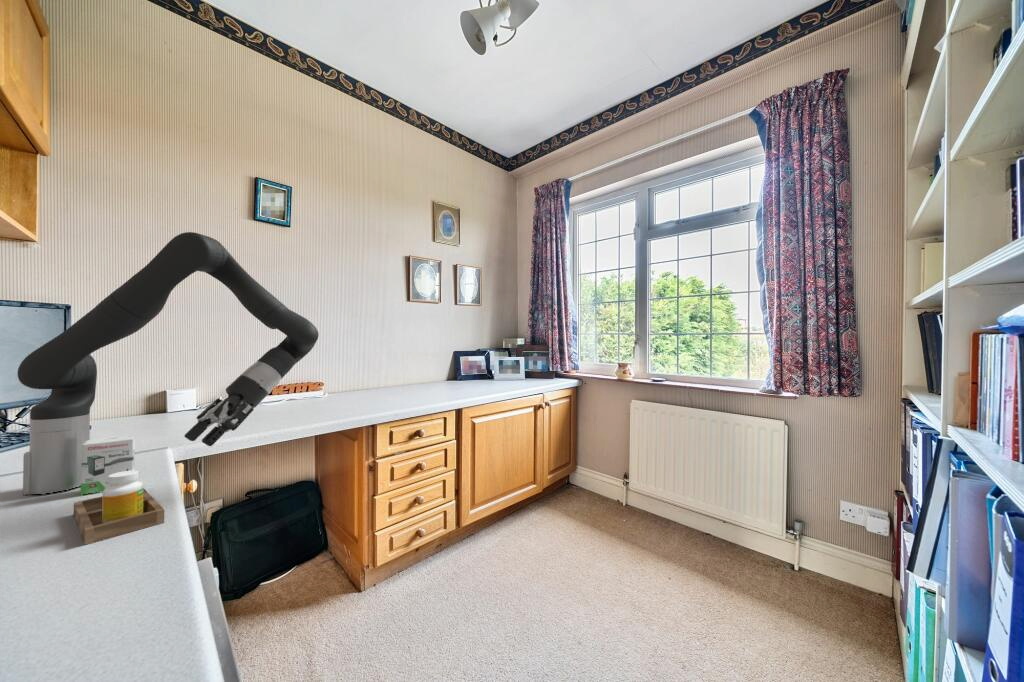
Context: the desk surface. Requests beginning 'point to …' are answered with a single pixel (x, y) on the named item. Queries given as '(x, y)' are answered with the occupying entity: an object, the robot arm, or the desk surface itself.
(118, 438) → the ink box
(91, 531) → the organizer
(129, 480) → the supplement bottle
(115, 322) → the robot arm
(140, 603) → the desk surface
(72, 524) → the desk surface
